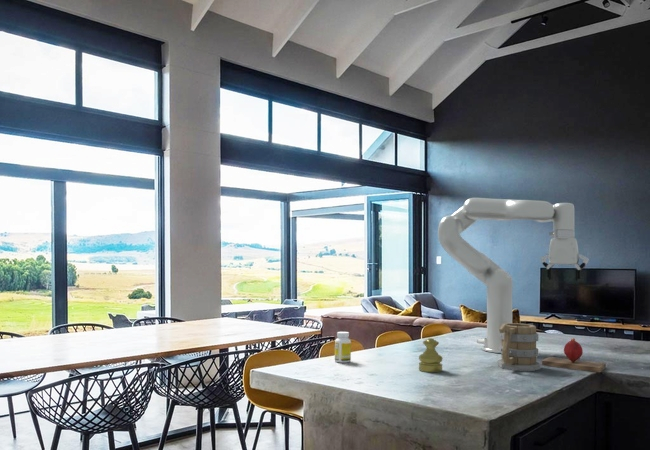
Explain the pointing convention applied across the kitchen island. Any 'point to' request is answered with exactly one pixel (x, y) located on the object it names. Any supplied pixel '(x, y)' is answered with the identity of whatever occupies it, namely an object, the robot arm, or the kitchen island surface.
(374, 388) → the kitchen island surface
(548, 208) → the robot arm
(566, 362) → the cutting board
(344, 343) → the supplement bottle
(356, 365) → the kitchen island surface
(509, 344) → the tankard
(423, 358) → the olive chess piece
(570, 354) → the red round fruit
